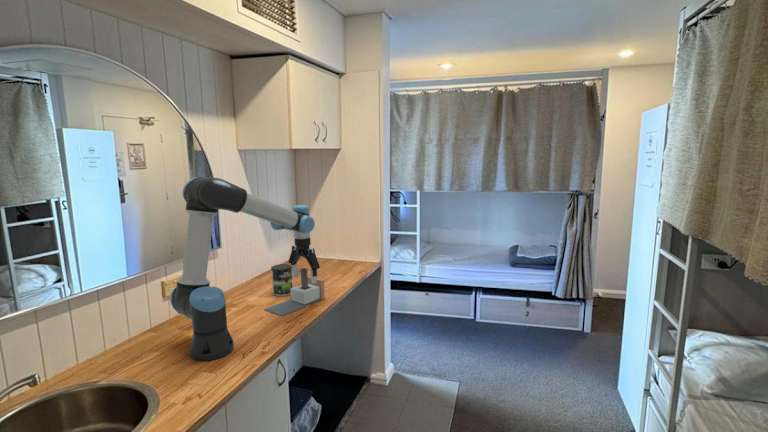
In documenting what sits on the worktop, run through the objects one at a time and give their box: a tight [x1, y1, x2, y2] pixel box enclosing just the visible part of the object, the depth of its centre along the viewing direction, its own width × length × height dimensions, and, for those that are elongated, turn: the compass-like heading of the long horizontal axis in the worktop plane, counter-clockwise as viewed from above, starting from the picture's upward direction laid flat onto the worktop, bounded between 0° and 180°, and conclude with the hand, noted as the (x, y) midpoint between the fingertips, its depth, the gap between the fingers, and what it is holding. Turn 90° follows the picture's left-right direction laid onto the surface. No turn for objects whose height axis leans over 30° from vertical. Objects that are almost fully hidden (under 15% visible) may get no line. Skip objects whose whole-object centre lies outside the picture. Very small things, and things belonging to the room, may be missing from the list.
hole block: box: [290, 284, 320, 305], centre depth 202 cm, size 10×10×6 cm
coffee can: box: [270, 263, 293, 297], centre depth 214 cm, size 10×10×14 cm
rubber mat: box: [264, 298, 325, 317], centre depth 198 cm, size 26×13×1 cm, turn 142°
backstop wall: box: [308, 275, 326, 301], centre depth 207 cm, size 2×13×10 cm, turn 52°
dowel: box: [300, 267, 309, 290], centre depth 201 cm, size 3×3×14 cm
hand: (304, 280), depth 201 cm, fingers open, 13 cm apart
